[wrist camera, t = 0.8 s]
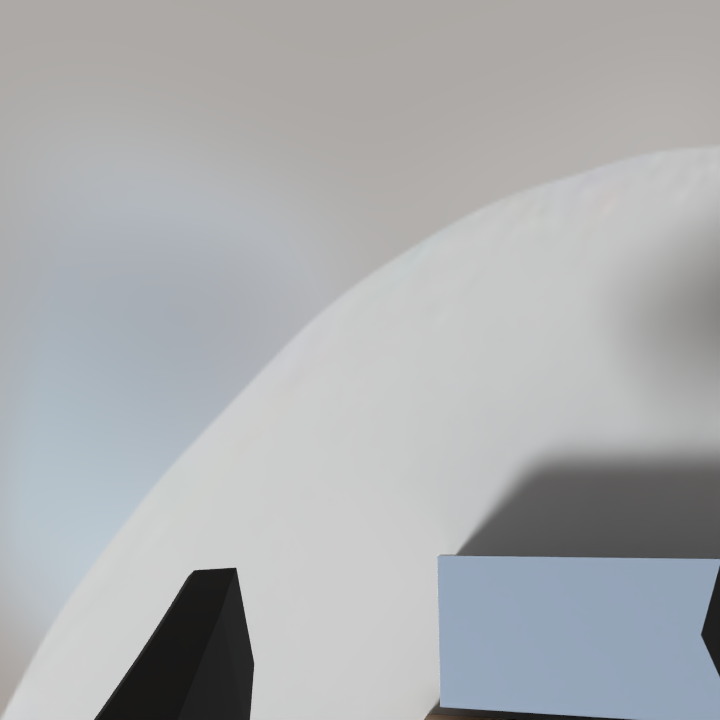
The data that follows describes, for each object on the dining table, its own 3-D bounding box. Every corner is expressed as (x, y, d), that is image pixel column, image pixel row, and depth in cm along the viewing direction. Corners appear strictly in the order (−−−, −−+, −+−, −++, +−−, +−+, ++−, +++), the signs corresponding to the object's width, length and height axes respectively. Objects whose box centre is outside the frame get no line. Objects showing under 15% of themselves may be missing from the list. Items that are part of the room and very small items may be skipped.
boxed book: (832, 702, 21) (943, 741, 16) (454, 681, 24) (438, 708, 19) (802, 566, 23) (895, 559, 18) (451, 561, 26) (435, 553, 20)
